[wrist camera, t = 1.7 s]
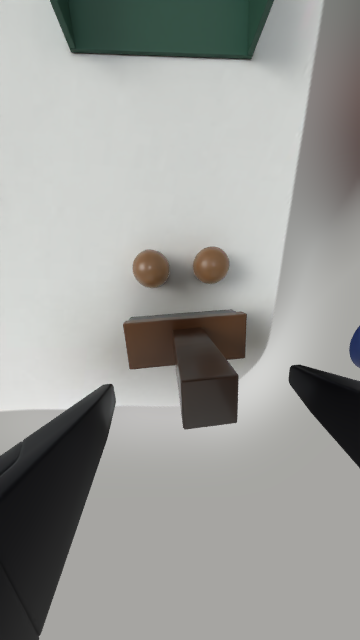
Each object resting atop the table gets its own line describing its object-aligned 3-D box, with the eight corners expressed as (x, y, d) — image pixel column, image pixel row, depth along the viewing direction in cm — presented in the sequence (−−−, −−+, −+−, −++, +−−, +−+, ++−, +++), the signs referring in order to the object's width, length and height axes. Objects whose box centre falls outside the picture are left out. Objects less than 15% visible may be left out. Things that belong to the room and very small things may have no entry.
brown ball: (227, 257, 15) (241, 252, 13) (214, 288, 16) (225, 290, 13) (198, 244, 15) (206, 236, 12) (185, 276, 16) (190, 275, 13)
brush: (231, 307, 17) (329, 347, 7) (231, 344, 18) (316, 427, 8) (130, 315, 16) (75, 373, 6) (135, 353, 17) (95, 457, 7)
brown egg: (173, 260, 15) (176, 256, 12) (162, 291, 16) (162, 294, 13) (142, 247, 15) (136, 239, 12) (131, 279, 15) (123, 279, 12)
